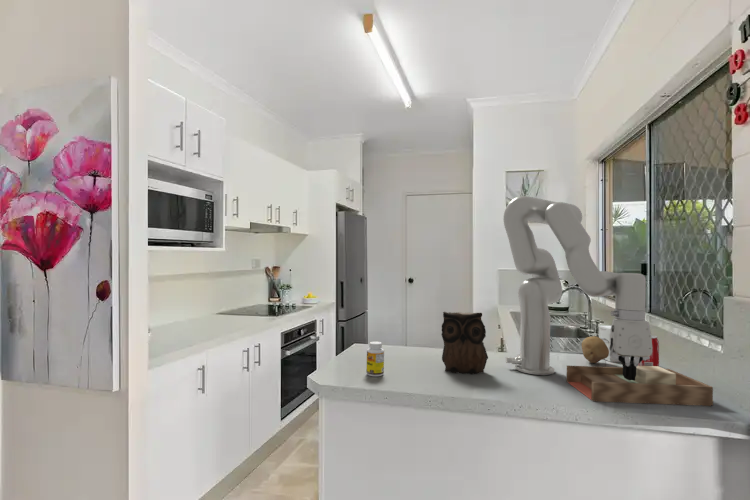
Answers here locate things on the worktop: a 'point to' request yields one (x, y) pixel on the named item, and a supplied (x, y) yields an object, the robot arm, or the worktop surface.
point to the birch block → (654, 375)
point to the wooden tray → (636, 387)
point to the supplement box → (606, 340)
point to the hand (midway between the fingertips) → (629, 378)
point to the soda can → (655, 354)
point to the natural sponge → (594, 349)
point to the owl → (463, 343)
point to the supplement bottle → (375, 359)
